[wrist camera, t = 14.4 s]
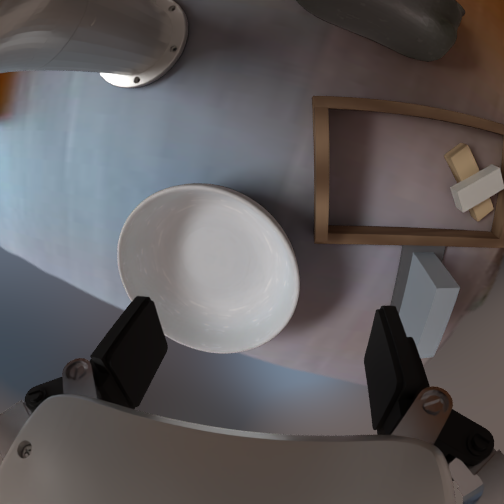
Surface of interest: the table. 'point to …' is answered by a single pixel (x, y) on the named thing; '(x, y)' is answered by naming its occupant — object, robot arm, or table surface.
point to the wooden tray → (499, 236)
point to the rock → (396, 23)
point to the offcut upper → (477, 188)
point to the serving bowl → (210, 267)
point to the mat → (405, 268)
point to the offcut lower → (467, 175)
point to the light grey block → (427, 302)
